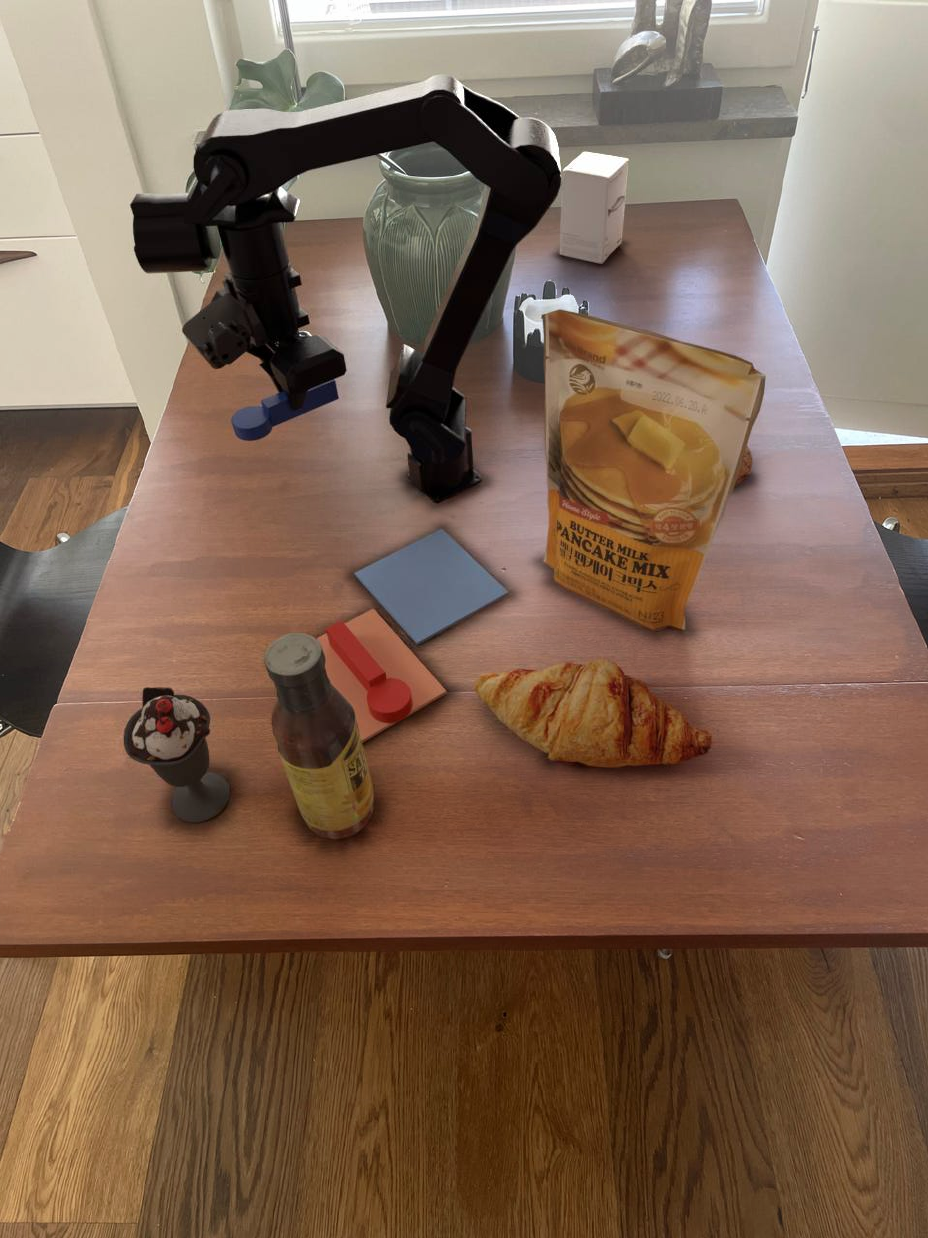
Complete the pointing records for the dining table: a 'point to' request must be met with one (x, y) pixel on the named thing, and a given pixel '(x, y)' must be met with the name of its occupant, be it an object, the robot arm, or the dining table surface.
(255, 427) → the blue spoon
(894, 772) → the dining table surface
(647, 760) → the croissant
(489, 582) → the blue mat
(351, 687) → the red mat
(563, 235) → the white packaging box
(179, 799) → the sundae
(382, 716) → the red spoon
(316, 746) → the sauce bottle
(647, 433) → the pancake mix bag
